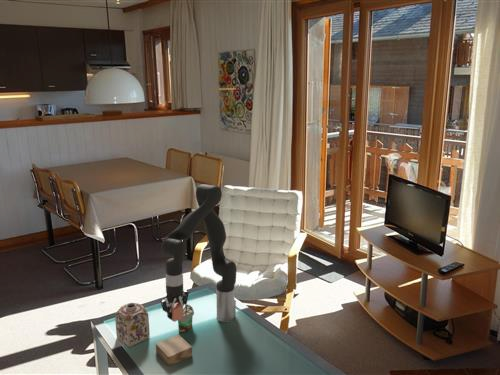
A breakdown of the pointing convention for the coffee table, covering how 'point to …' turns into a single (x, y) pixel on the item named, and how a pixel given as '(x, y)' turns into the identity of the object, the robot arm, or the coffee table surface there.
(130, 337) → the decorative jar
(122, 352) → the coffee table surface
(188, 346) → the walnut block
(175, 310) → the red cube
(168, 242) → the robot arm
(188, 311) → the food container
